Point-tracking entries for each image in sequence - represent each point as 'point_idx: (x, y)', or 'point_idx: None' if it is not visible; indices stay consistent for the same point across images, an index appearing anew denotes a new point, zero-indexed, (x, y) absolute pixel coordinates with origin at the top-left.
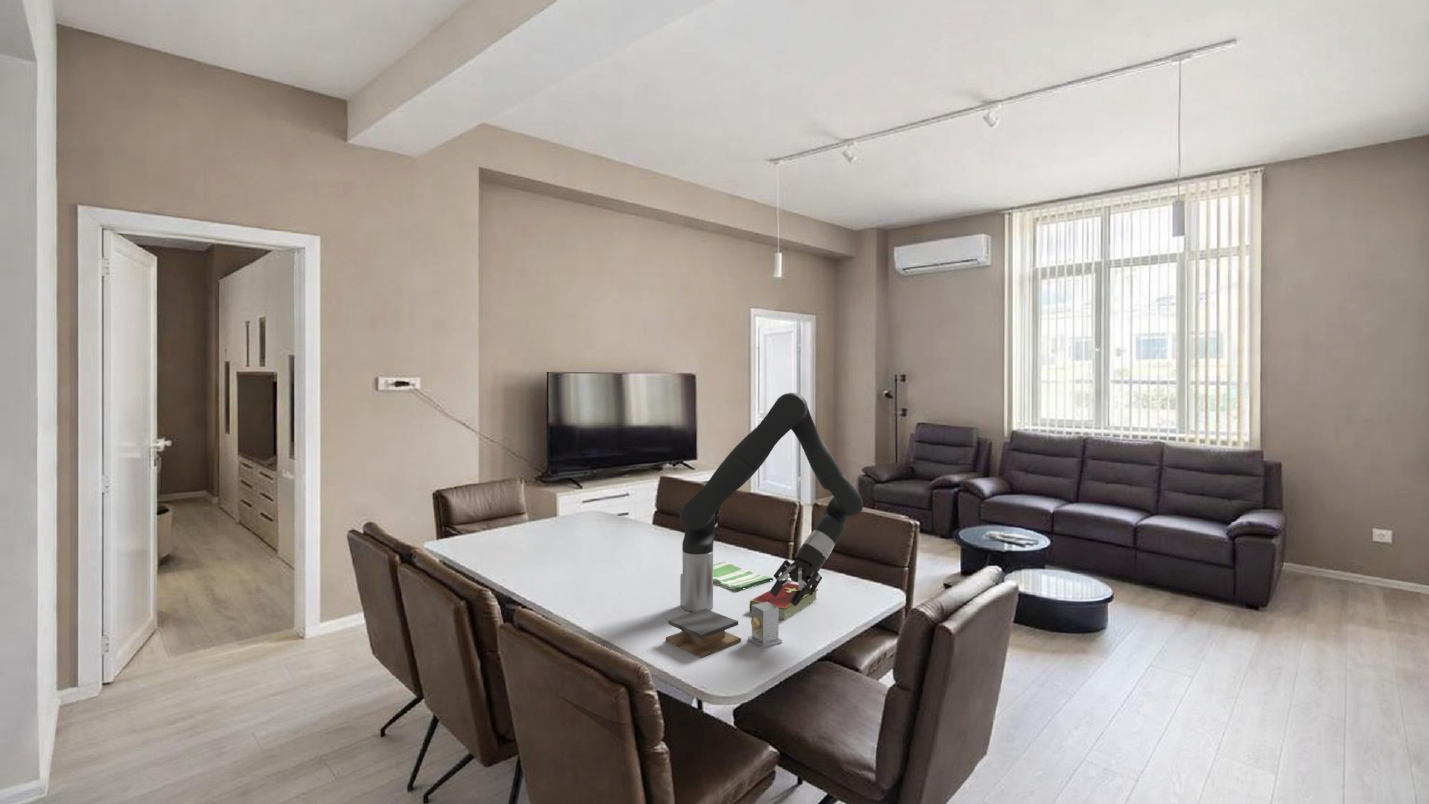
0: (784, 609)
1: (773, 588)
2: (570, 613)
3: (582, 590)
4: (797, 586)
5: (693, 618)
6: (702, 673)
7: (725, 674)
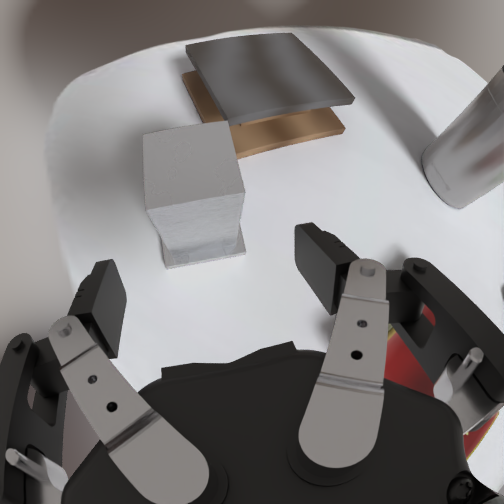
0: None
1: (313, 234)
2: (403, 45)
3: (471, 91)
4: (473, 441)
5: (290, 57)
6: (126, 74)
7: (98, 99)
